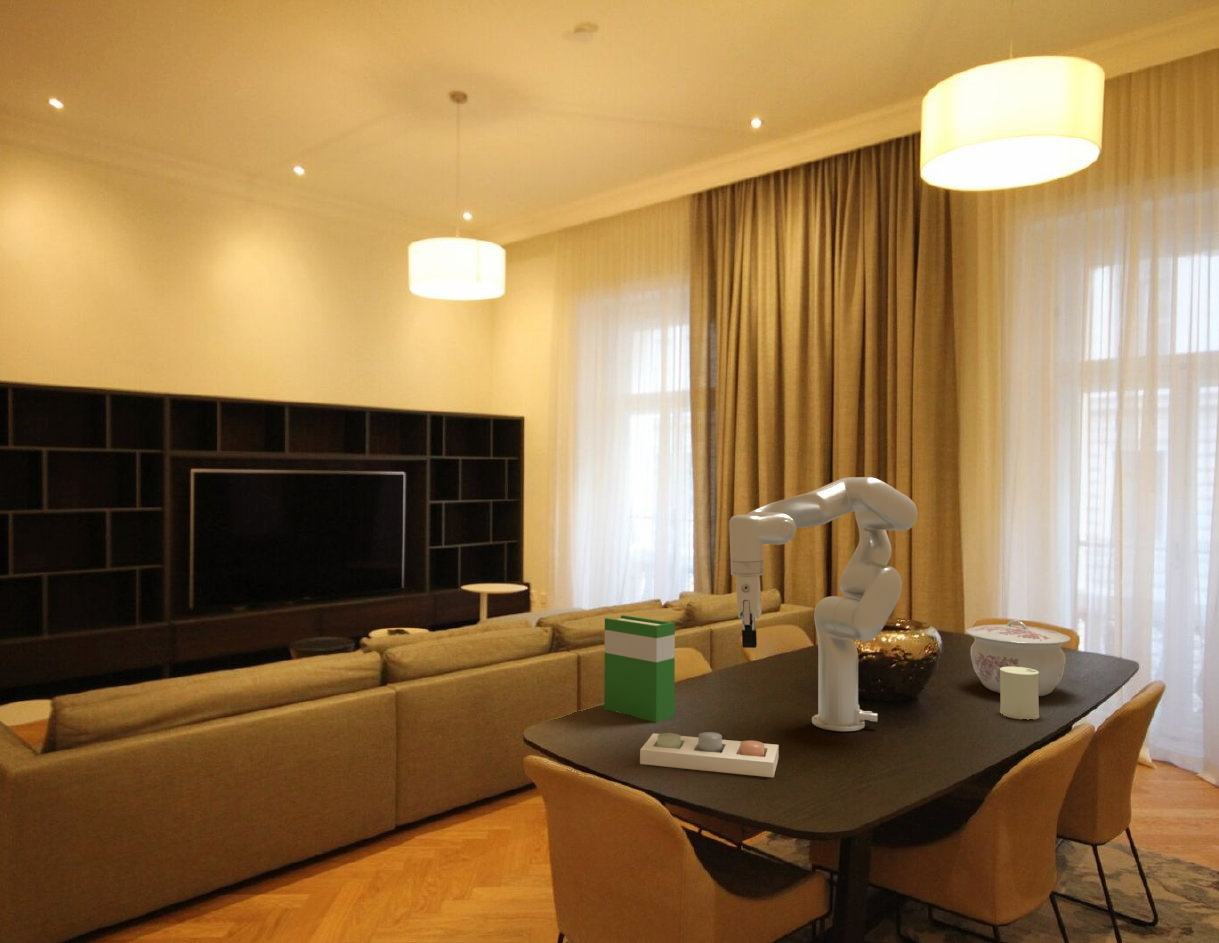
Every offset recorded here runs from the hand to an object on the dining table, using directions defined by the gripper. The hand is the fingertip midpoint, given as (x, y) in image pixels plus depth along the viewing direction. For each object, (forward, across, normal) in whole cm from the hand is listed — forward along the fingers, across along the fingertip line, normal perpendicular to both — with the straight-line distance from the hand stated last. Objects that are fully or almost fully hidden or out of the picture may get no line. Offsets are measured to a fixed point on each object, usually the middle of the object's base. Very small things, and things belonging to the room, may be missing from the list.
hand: (749, 646), depth 192 cm
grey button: (+20, -17, +8) cm, 27 cm away
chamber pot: (+26, +65, -71) cm, 99 cm away
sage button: (+20, -16, +17) cm, 31 cm away
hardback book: (+22, +16, +30) cm, 41 cm away
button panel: (+21, -17, +8) cm, 28 cm away
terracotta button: (+21, -17, -1) cm, 27 cm away
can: (+25, +39, -66) cm, 80 cm away
